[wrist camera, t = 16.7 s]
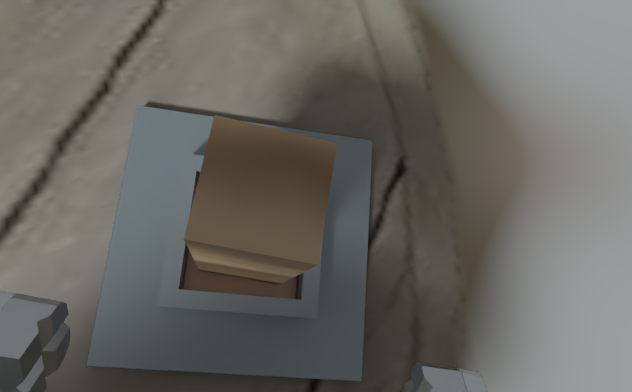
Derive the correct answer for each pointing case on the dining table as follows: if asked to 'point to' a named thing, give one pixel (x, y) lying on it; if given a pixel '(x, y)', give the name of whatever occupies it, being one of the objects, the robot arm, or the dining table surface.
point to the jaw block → (260, 202)
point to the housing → (222, 290)
